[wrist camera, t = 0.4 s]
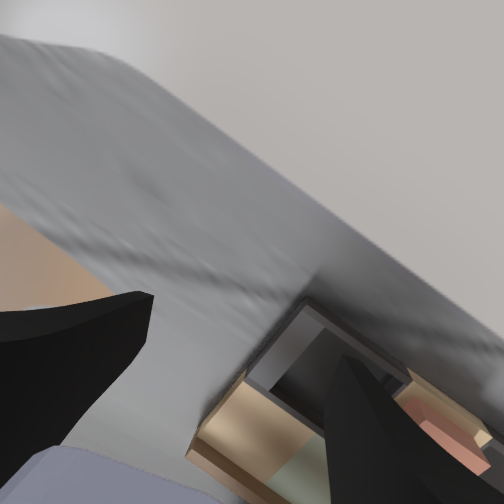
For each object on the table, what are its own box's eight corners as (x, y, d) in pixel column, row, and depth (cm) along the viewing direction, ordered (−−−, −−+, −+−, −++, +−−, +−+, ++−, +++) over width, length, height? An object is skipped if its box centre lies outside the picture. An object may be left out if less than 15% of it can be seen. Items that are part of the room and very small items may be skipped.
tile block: (422, 480, 22) (433, 510, 20) (366, 440, 22) (372, 467, 20) (473, 438, 20) (491, 466, 18) (414, 395, 20) (425, 419, 18)
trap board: (426, 592, 26) (439, 638, 23) (196, 429, 25) (184, 457, 23) (578, 490, 22) (614, 532, 19) (306, 295, 21) (306, 311, 19)
